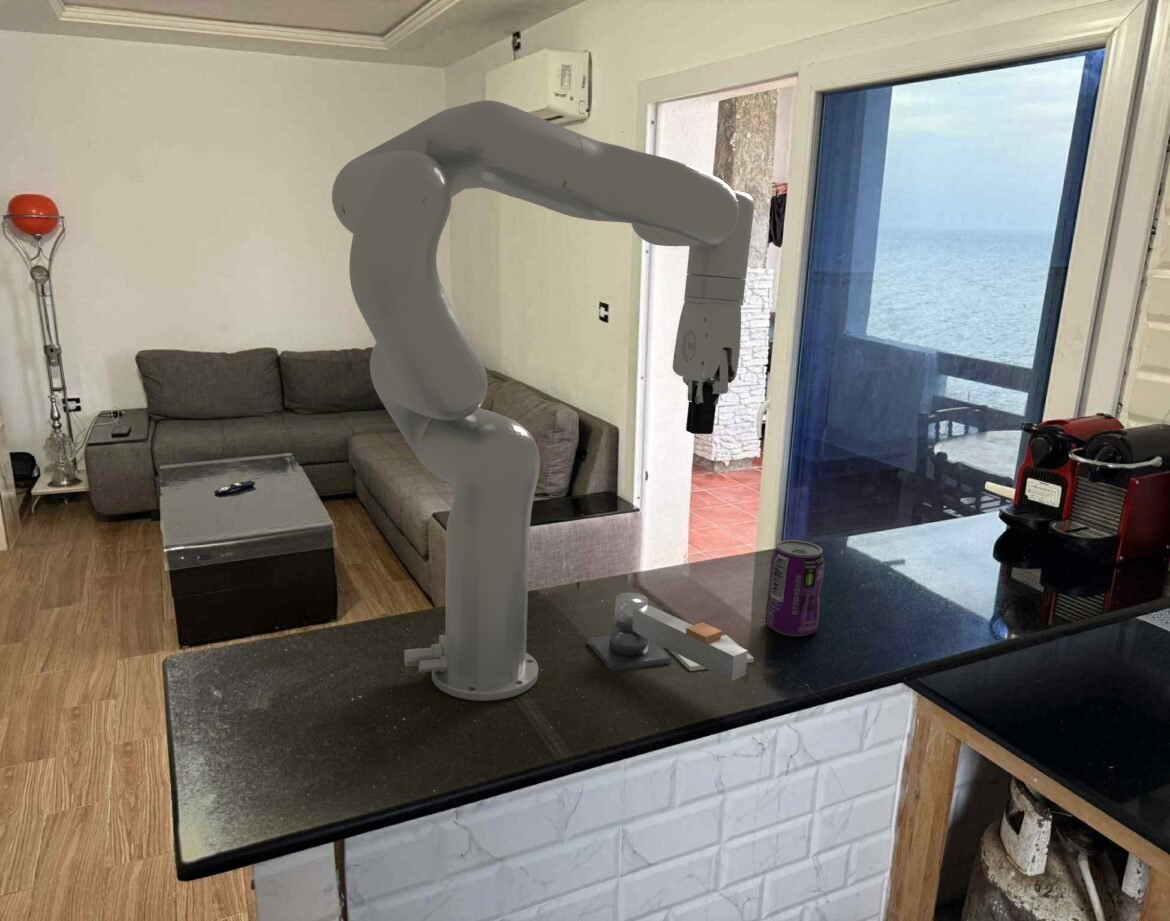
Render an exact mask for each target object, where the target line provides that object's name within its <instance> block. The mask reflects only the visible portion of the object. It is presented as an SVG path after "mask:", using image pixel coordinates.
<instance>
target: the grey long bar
mask: <svg viewBox="0 0 1170 921" xmlns="http://www.w3.org/2000/svg"><path fill="white" fill-rule="evenodd" d="M614 610H615V611H614V621H613V623H614V624H615V626H616V627H617V628H619V629H622V630H625V631H633V632H635V633H637V634H639V635H641V636H643V637H645V638H647V639H649V640H651V641H653V642H655V643H657V644H658V645H659V646H660V647H662V648H665V649H666V650H668V649H669V650H671V651H673V652H675V653H677V654H679V655H681V656H683V657H685V658H687V659H689V660H691V661H693V662H695V663H697V664H699V665H701V666H703V667H705V668H707V669H706V670H709V671H711V672H713V673H715V674H717V675H719V676H721V677H723V678H725V679H728V680H729V681H730V682H732V681H734V680H738V679H739V678H741V677H744V676H746V673H747V672H746V671H747V664H748V663H747V653H749V652H748V649H745V648H743V647H742V646H740V645H739V646H740V647H739V646H737V645H735V644H733V643H730V642H728V641H726V640H724V639H722V638H721V636H722V635H723V634H722V633H723V632H722V630H720V629H719V628H716V627H714V626H711V625H710V624H707V623H705V622H703V621H702V622H699V623H696V624H694V625H693V624H691V623H689V622H687V621H685V620H683V619H680V618H678V617H676V616H673V615H671V614H669V613H667V612H665V611H663V610H660V609H658V608H656V607H654V606H652V605H650V604H648V597H647V596H645V595H643V594H641V593H637V592H622V593H619V594H617V595H616V596H615V608H614ZM669 650H668V651H669Z"/></svg>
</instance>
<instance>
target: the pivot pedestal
mask: <svg viewBox="0 0 1170 921" xmlns="http://www.w3.org/2000/svg"><path fill="white" fill-rule="evenodd" d="M587 644H588V645H589V647H590V648H591V649H592V651H594V653H595V654H596V655H597V656H598V657H599V659H601V661H602V663H603V664H604V665H605V666H606V667H607V669H608V670H609V671H610V672H611V673H612V672H618V671H625V670H632V669H634V670H635V669H639V668H649V667H654V666H655V667H657V666H663V665H669V664H671V656H670V655H669V654H668V653H667V652H666V651H665V650H663V647H662V646H661V645H659V644H657V643H655V642H653V641H651V640H649V639H647V638H645V637H643V636H641V635H639V634H637V633H635V632H633V631H625V630H622V629H619V628H617V627H616V626H615V624H614V622H612V623H611V624H610V628H609V635H603V636H594V637H593V636H592V637H588V639H587Z"/></svg>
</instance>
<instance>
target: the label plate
mask: <svg viewBox="0 0 1170 921" xmlns="http://www.w3.org/2000/svg"><path fill="white" fill-rule="evenodd" d="M721 638H722V639H724V640H726V641H728V642H730V643H733V644H735V645H737V646H739V647H741V646H740V645H739V644H738V643H737V642H736V641H734V640H733V639H732V638H731V637H730V636H728V635H727V634H722V636H721ZM667 650H668V651H669V652H670V653H671V654H672V655H673V656H674V657H675V658H676V659H677V660H678V661H679V662H681V664H683V666H685V668H686V669H687V670H689V672H692V671H700V670H708V669H707V668H705V667H703V666H701V665H699V664H697V663H695V662H693V661H691V660H689V659H687V658H685V657H683V656H681V655H679V654H677V653H675V652H673V651H671V650H669V649H667ZM754 661H755V658H754V657H753V656H752V655H751V654H750V653H749V652H747V663H746V664H750V663H754Z"/></svg>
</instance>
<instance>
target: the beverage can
mask: <svg viewBox="0 0 1170 921" xmlns="http://www.w3.org/2000/svg"><path fill="white" fill-rule="evenodd" d="M823 550H824V549H823V548H822V547H821V546H819V545H818V544H816V543H812V542H809V541H803V540H796V539H794V540H792V539H788V540H787V539H786V540H781V541H778V542H777V543H776V547H775V550H774V552H773V554H772V555H771V560H770V568H769V569H770V570H769V579H768V588H767V589H768V591H767V599H766V600H767V601H766V607H765V608H766V609H765V619H764V623H765V624H766V625H767V627H769V628H770V629H772V630H774V631H775V632H776V633H778V634H780V635H784V636H787V637H794V638H795V637H797V638H799V637H803V636H804V637H805V636H807V635H810V634H811V635H812V634H814V633H816V632H817V630H818V624H819V616H820V609H821V608H820V607H821V599H822V592H823V591H822V590H823V582H824V581H823V580H824V573H825V565H826V564H825V560H824V558H823V552H824V551H823Z"/></svg>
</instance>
